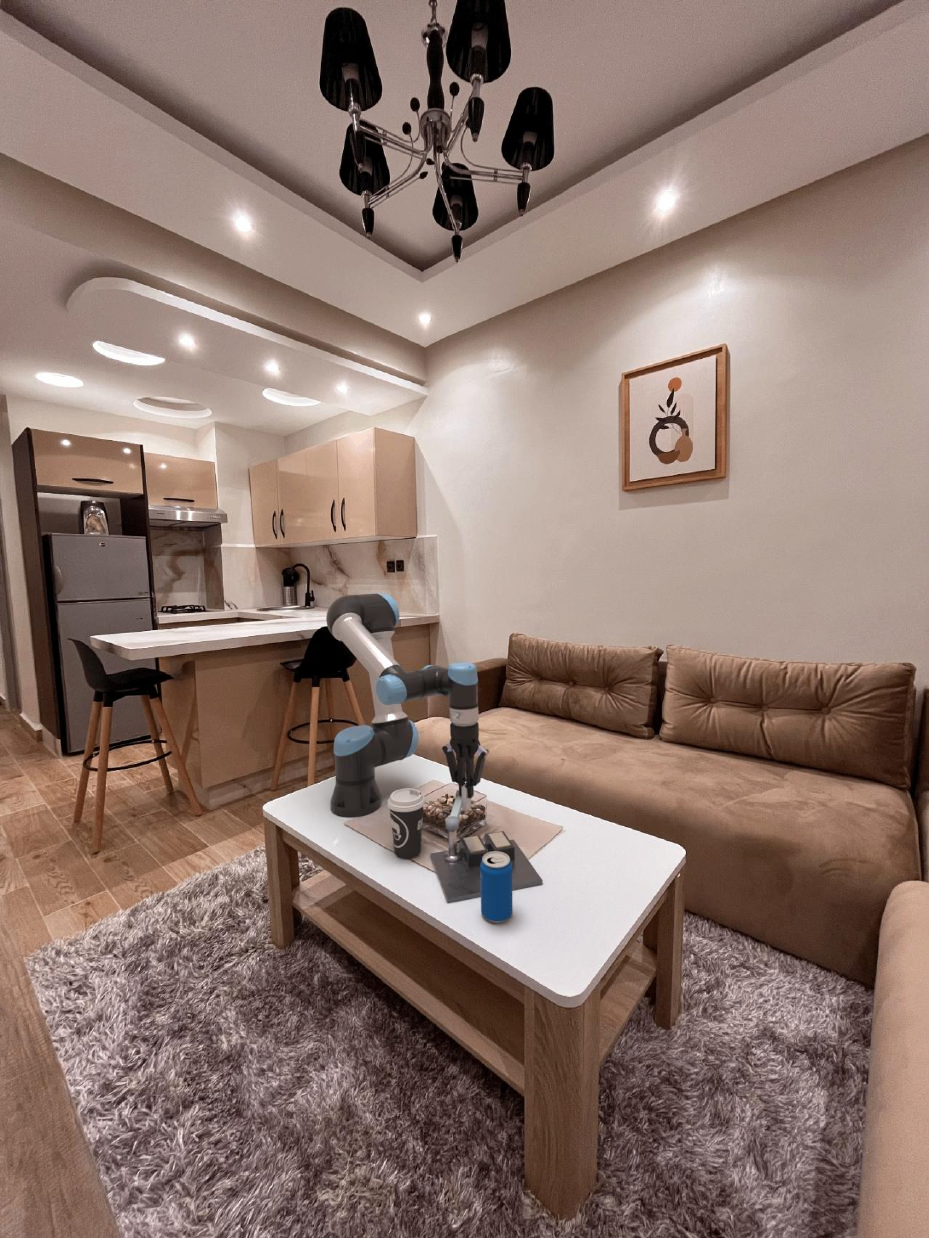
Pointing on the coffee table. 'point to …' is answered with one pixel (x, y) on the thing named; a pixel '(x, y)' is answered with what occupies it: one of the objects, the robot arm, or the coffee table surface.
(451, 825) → the cable arm
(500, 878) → the beverage can
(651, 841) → the coffee table surface
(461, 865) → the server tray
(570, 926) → the coffee table surface
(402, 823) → the coffee cup
